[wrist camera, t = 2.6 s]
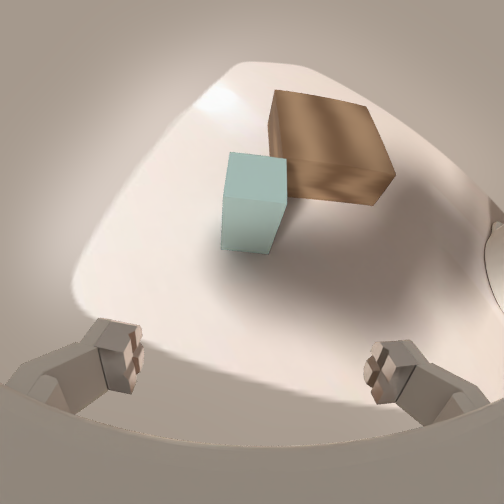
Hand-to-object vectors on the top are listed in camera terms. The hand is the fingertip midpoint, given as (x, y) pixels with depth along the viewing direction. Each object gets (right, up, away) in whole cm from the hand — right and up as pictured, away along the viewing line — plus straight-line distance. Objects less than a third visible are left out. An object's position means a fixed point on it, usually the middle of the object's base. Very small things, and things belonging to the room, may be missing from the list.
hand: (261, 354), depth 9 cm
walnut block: (+8, +14, +24) cm, 29 cm away
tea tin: (-1, +5, +18) cm, 19 cm away
